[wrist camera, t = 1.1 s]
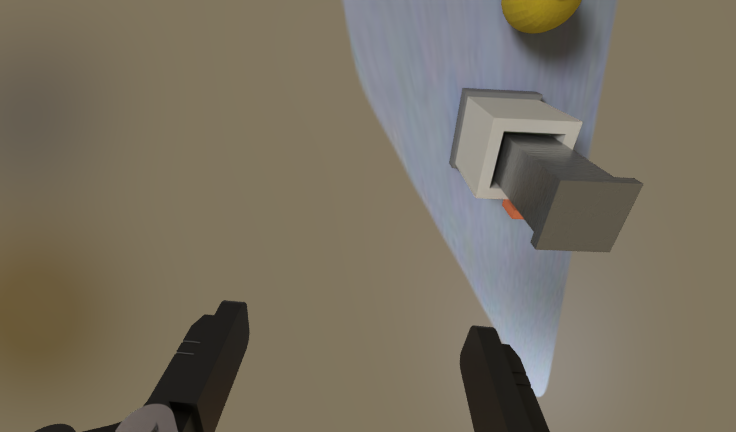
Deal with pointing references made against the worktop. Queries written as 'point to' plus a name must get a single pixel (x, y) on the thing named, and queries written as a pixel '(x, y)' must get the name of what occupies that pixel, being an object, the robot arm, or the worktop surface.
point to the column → (562, 193)
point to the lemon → (538, 13)
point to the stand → (501, 134)
